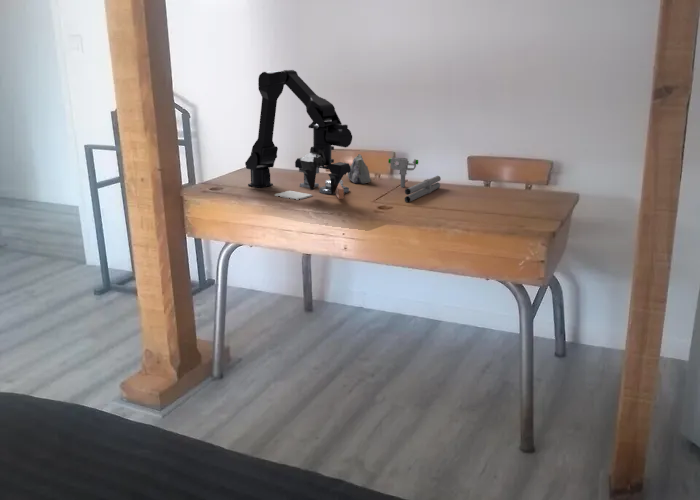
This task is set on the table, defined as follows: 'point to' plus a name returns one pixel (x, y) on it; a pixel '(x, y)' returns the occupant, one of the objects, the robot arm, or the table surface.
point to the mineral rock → (359, 171)
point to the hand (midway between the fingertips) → (322, 191)
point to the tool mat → (293, 195)
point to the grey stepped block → (307, 181)
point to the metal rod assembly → (425, 187)
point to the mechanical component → (402, 167)
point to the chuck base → (327, 191)
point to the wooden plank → (338, 191)
